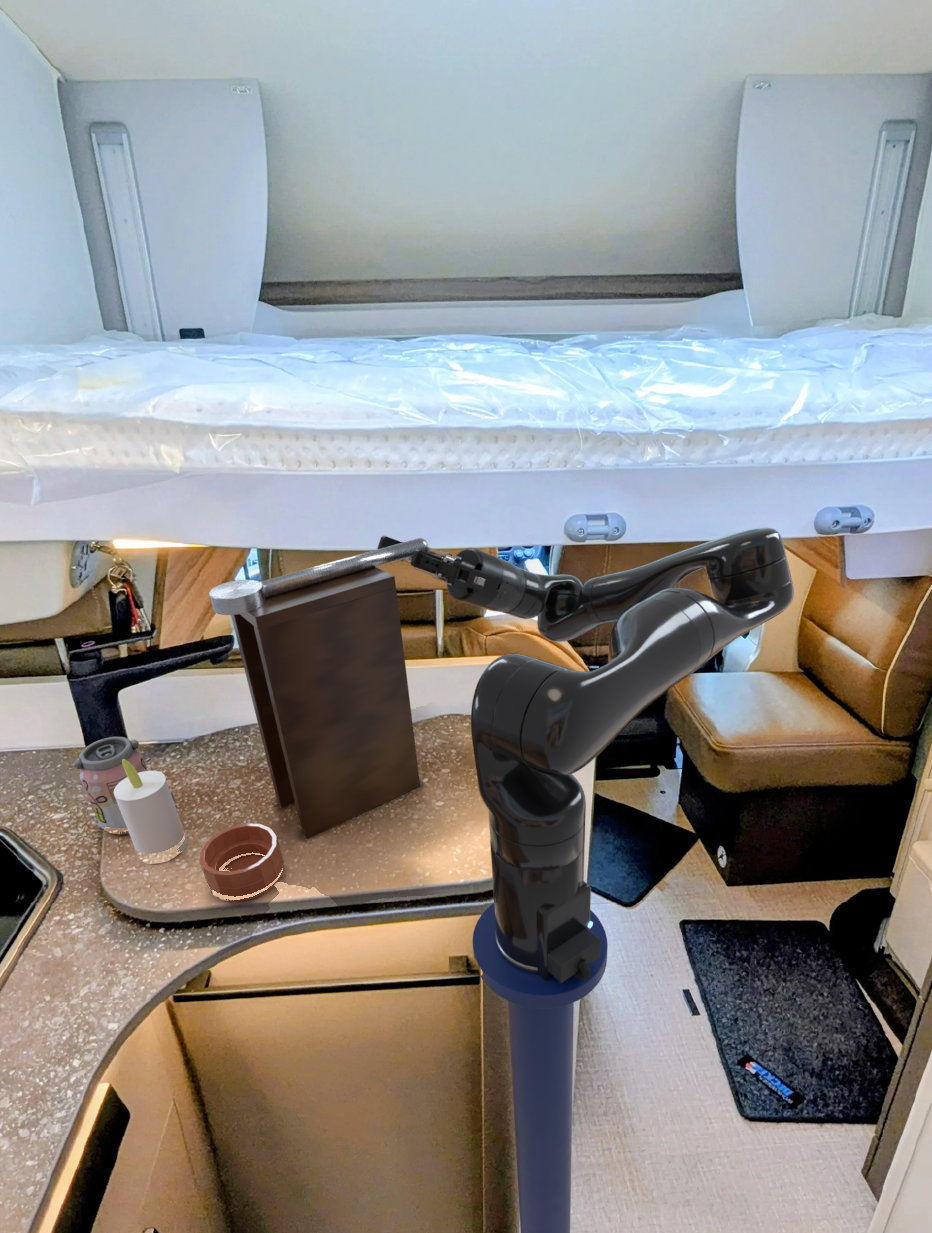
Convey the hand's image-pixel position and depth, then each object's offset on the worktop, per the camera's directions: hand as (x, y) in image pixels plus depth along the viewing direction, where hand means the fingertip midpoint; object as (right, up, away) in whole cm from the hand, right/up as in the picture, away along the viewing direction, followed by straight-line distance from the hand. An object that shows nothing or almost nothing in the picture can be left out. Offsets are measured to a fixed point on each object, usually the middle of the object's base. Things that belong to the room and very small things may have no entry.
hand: (396, 550), depth 91 cm
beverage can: (-39, -36, +10) cm, 54 cm away
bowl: (-18, -42, -3) cm, 46 cm away
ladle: (-8, -4, -4) cm, 10 cm away
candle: (-32, -39, +4) cm, 51 cm away
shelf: (-8, -33, +11) cm, 36 cm away
